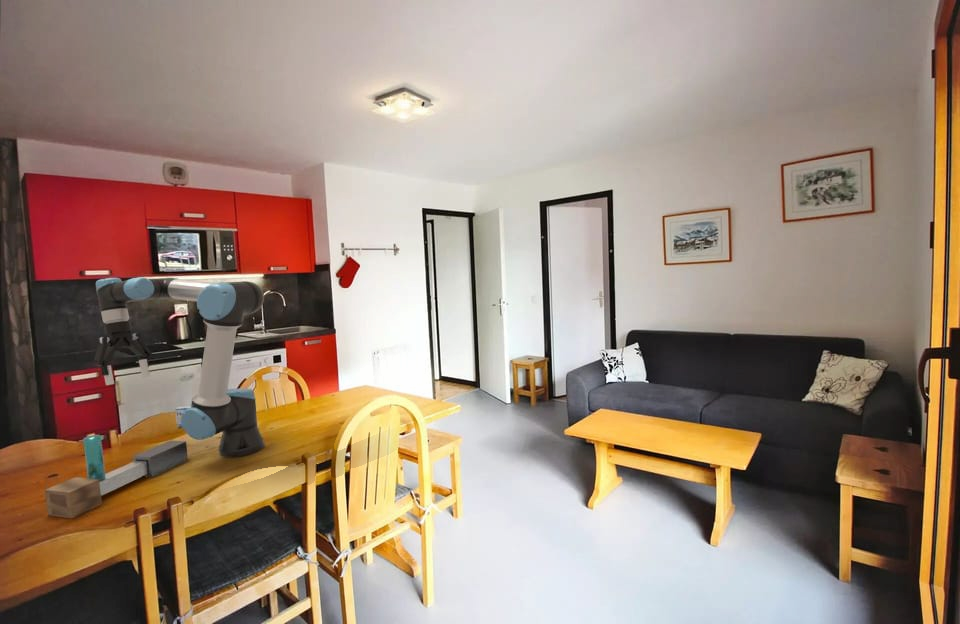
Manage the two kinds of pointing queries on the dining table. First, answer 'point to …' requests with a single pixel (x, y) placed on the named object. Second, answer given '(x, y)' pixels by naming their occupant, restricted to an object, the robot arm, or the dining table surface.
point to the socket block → (73, 497)
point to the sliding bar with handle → (114, 477)
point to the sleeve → (163, 456)
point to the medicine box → (180, 414)
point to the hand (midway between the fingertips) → (128, 380)
